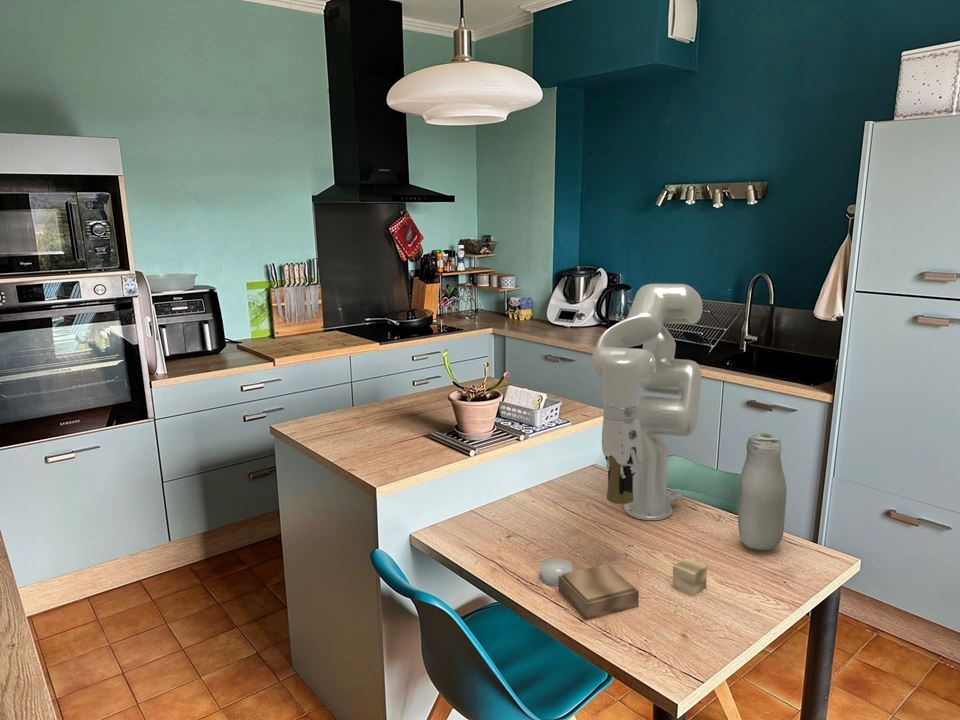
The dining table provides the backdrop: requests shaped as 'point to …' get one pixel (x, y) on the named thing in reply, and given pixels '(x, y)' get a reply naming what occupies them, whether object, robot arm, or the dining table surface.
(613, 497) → the pepper shaker
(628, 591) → the walnut stand
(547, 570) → the pale grey dome
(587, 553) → the dining table surface
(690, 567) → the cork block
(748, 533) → the glass bottle
